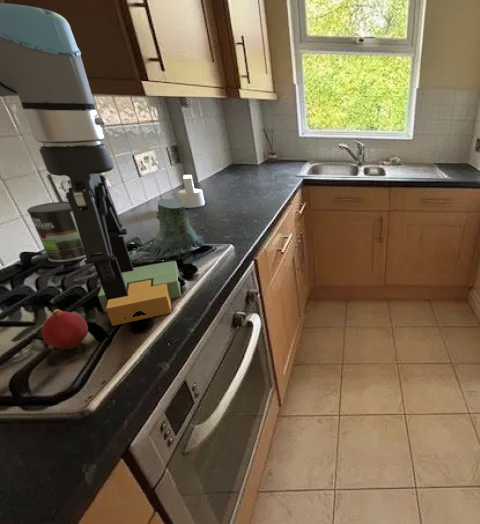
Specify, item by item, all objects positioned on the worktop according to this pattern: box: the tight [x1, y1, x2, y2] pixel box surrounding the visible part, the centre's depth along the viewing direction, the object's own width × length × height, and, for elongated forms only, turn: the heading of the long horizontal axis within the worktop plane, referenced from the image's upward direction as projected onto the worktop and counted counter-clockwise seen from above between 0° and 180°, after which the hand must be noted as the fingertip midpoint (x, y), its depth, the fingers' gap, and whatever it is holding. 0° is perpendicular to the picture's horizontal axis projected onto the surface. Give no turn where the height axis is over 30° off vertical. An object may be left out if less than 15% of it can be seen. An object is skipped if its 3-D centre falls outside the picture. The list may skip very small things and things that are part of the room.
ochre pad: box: [106, 280, 172, 327], centre depth 69 cm, size 10×10×4 cm
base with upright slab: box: [177, 174, 206, 209], centre depth 139 cm, size 9×9×12 cm
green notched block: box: [97, 260, 182, 313], centre depth 75 cm, size 14×12×4 cm
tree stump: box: [128, 198, 205, 266], centre depth 94 cm, size 18×20×18 cm
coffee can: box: [26, 201, 86, 263], centre depth 90 cm, size 10×10×14 cm
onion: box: [41, 309, 89, 350], centre depth 56 cm, size 6×6×8 cm
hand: (121, 283), depth 56 cm, fingers open, 9 cm apart
